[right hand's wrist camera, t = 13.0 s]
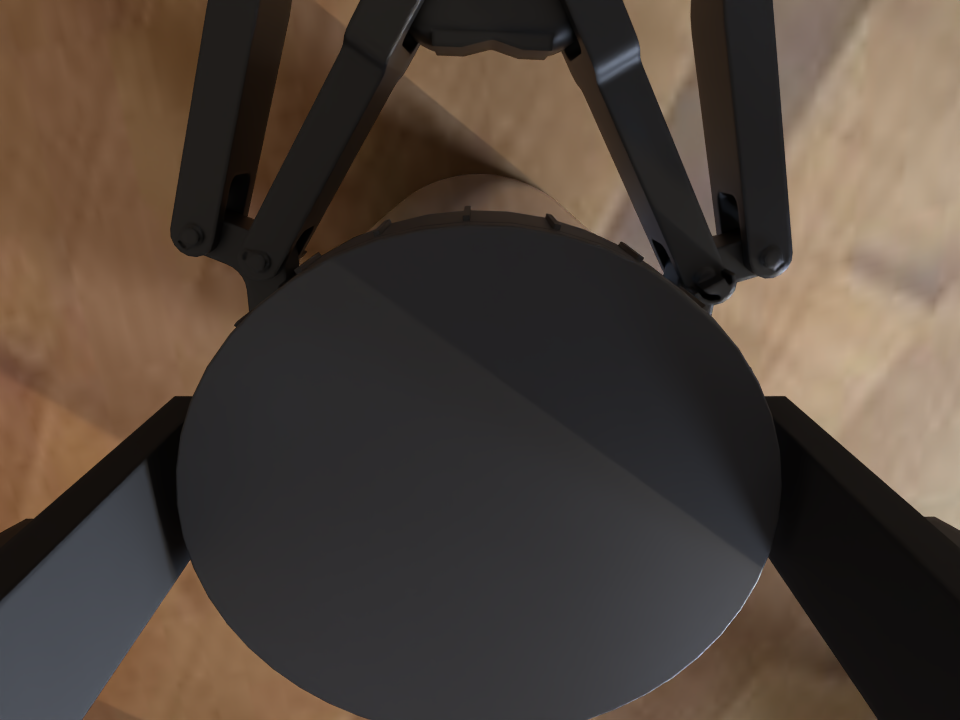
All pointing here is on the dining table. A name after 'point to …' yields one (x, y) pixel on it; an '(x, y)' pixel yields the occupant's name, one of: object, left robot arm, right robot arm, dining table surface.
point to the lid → (478, 473)
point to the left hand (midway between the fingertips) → (474, 464)
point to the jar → (479, 199)
